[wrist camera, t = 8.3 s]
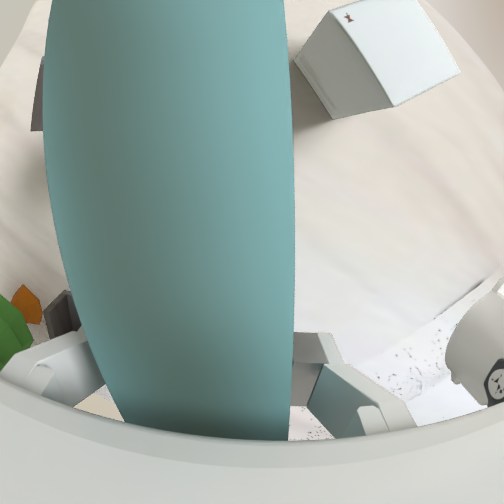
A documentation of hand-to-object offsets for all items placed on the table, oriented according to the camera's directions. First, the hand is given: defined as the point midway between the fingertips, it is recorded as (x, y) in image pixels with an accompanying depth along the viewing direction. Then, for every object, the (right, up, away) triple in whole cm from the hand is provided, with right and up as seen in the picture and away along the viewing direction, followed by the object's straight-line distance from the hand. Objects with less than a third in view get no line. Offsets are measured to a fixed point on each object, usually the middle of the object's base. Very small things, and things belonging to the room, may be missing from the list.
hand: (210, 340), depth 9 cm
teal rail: (0, +1, +3) cm, 3 cm away
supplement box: (+10, +20, +16) cm, 28 cm away
